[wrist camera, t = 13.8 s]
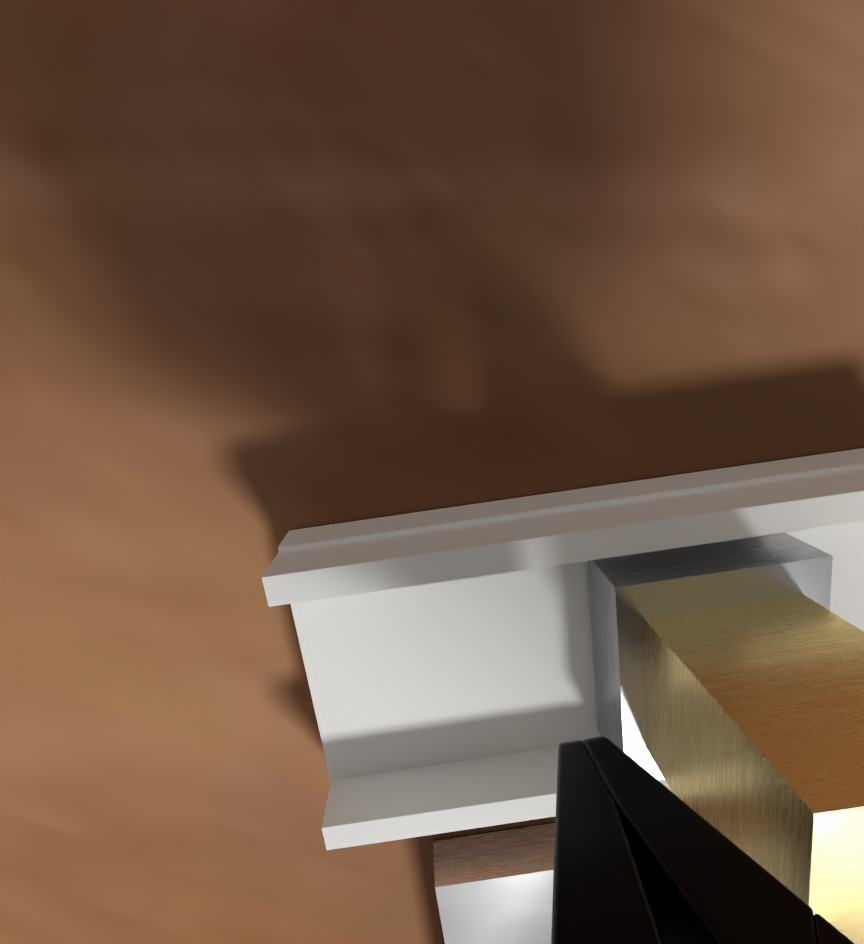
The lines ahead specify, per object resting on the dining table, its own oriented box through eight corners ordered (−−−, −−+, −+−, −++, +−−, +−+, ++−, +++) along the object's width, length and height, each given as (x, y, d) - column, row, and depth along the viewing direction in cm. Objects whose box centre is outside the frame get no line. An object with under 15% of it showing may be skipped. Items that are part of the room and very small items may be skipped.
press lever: (769, 705, 12) (1076, 1008, 6) (598, 730, 12) (760, 1057, 6) (774, 527, 10) (1150, 710, 5) (587, 554, 10) (770, 766, 5)
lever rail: (877, 691, 13) (969, 758, 11) (341, 770, 13) (327, 853, 11) (899, 442, 11) (1013, 463, 9) (289, 530, 11) (260, 572, 9)
